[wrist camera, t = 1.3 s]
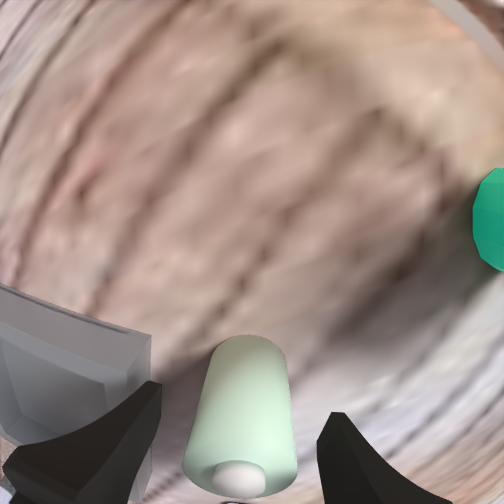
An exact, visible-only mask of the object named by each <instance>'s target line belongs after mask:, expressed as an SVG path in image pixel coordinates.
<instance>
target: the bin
mask: <svg viewBox="0 0 504 504" xmlns="http://www.w3.org/2000/svg"><path fill="white" fill-rule="evenodd" d="M150 353H151V335H148V334H145V333H141V332H137V331H134V330H130V329H127V328H123V327H120V326H116V325H113V324H110V323H107V322H103V321H100V320H97V319H94V318H91V317H88V316H85V315H82V314H79V313H76V312H73V311H70V310H67V309H64V308H61V307H59V306H56V305H53V304H50V303H48V302H45V301H43V300H40V299H37V298H35V297H32V296H30V295H27V294H25V293H22V292H20V291H17V290H15V289H13V288H10V287H8V286H5V285H3V284H1V283H0V435H1V436H2V437H4V438H5V439H7V440H8V441H10V442H11V443H13V444H14V445H16V446H17V447H18V446H20V445H27V444H33V443H39V442H43V441H47V440H50V439H54V438H57V437H60V436H63V435H66V434H69V433H71V432H73V431H76V430H78V429H80V428H82V427H84V426H86V425H88V424H90V423H92V422H94V421H95V420H97V419H99V418H100V417H102V416H103V415H105V414H106V413H108V412H109V411H111V410H112V409H114V408H115V407H116V406H118V405H119V404H120V403H122V402H123V401H124V400H125V399H127V398H128V397H129V396H130V395H131V394H133V393H134V392H135V391H136V390H137V389H138V388H139V387H140V386H142V385H143V384H144V383H145V382H146V381H150ZM151 473H152V463H151V445H150V447H149V449H148V451H147V454H146V456H145V458H144V460H143V462H142V464H141V466H140V468H139V471H138V473H137V475H136V478H135V480H134V483H133V486H132V489H131V493H130V496H129V499H128V500H131V501H134V502H137V503H140V504H141V501H142V498H143V496H144V493H145V490H146V487H147V484H148V481H149V478H150V476H151Z"/></svg>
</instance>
